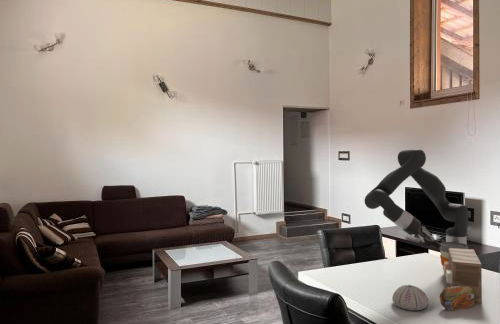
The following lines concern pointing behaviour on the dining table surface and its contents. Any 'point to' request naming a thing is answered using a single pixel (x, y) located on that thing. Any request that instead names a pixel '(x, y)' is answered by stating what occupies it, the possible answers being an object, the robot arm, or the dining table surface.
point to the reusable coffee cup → (445, 250)
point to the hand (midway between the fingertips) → (439, 246)
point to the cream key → (449, 276)
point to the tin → (457, 297)
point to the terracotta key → (446, 266)
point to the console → (466, 270)
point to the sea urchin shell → (410, 298)
